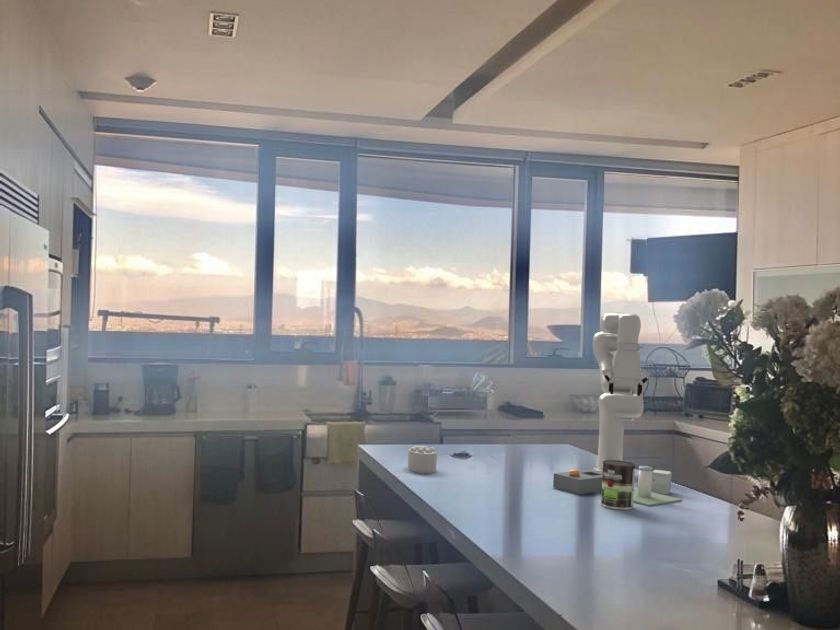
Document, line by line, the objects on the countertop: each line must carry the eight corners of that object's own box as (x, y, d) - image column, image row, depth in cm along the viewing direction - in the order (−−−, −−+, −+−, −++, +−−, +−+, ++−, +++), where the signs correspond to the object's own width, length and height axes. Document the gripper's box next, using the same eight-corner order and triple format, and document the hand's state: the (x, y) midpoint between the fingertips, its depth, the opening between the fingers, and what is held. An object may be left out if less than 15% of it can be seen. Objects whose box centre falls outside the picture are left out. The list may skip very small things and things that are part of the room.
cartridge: (636, 494, 285) (638, 465, 285) (649, 495, 284) (651, 466, 284) (638, 497, 280) (639, 467, 280) (651, 498, 280) (653, 468, 280)
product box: (650, 492, 293) (651, 471, 293) (653, 489, 299) (654, 469, 299) (668, 494, 290) (669, 473, 290) (671, 491, 296) (672, 471, 296)
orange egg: (573, 485, 293) (574, 468, 293) (581, 487, 290) (581, 470, 290) (566, 486, 291) (567, 469, 291) (574, 488, 288) (574, 471, 288)
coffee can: (623, 511, 260) (625, 466, 260) (594, 505, 267) (596, 461, 267) (639, 507, 268) (641, 463, 268) (610, 501, 275) (613, 458, 275)
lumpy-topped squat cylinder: (431, 466, 321) (433, 444, 321) (439, 473, 309) (440, 450, 309) (405, 466, 319) (406, 444, 319) (412, 473, 307) (413, 449, 307)
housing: (587, 483, 303) (587, 469, 303) (613, 489, 294) (613, 475, 294) (553, 487, 293) (553, 473, 293) (578, 494, 283) (579, 479, 283)
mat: (638, 490, 295) (638, 488, 295) (682, 501, 281) (682, 499, 281) (605, 495, 284) (605, 493, 284) (649, 506, 270) (649, 504, 270)
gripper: (650, 349, 305) (647, 395, 305) (602, 346, 307) (600, 392, 307) (653, 349, 298) (650, 397, 298) (604, 347, 300) (601, 394, 300)
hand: (625, 394), depth 303 cm, fingers open, 9 cm apart
